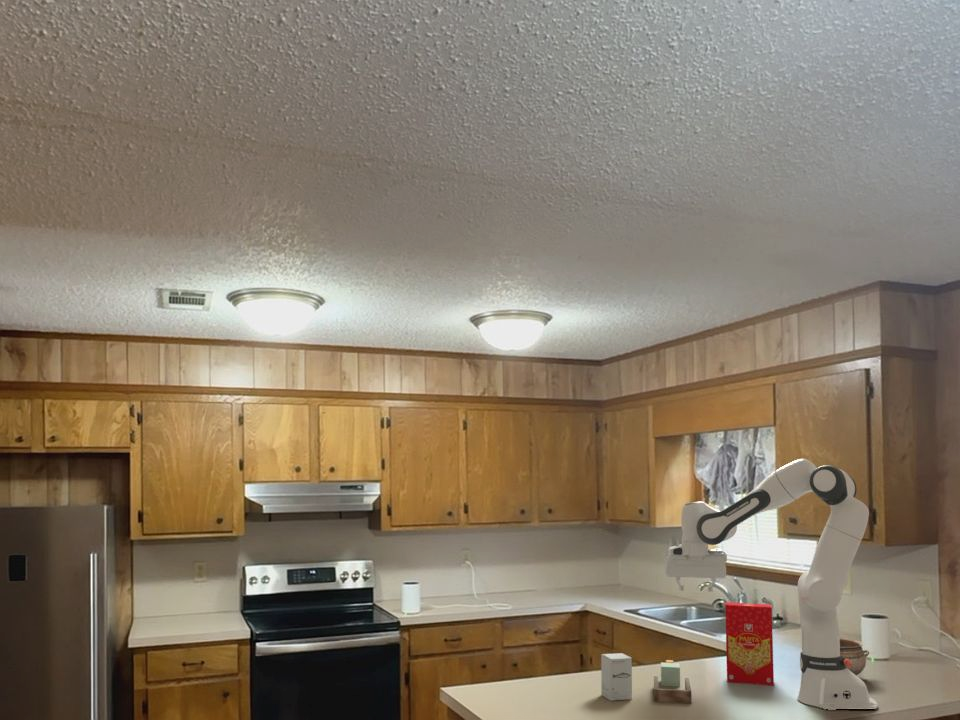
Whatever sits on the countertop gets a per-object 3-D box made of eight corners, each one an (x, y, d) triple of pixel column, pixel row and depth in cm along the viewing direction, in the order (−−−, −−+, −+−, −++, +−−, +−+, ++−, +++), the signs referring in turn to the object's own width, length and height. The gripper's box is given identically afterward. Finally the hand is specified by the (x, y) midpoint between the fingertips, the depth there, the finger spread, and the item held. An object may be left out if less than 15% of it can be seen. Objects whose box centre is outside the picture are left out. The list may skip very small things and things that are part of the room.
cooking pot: (851, 670, 310) (850, 634, 312) (887, 684, 292) (885, 646, 293) (787, 673, 305) (786, 637, 307) (819, 688, 287) (817, 649, 288)
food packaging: (727, 681, 294) (725, 604, 296) (727, 678, 299) (725, 602, 301) (773, 685, 290) (771, 607, 292) (773, 681, 295) (771, 604, 297)
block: (678, 673, 304) (678, 655, 305) (680, 686, 288) (679, 667, 288) (660, 672, 306) (660, 654, 306) (661, 685, 289) (661, 666, 290)
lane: (689, 689, 284) (688, 678, 285) (691, 703, 269) (691, 691, 269) (654, 687, 286) (653, 676, 287) (654, 701, 271) (654, 689, 271)
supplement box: (610, 701, 270) (610, 658, 271) (600, 695, 277) (600, 653, 278) (632, 699, 272) (632, 657, 273) (622, 693, 279) (622, 652, 280)
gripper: (725, 549, 303) (726, 590, 301) (664, 547, 306) (665, 588, 305) (727, 551, 297) (728, 593, 295) (665, 549, 300) (665, 591, 299)
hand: (695, 591), depth 300 cm, fingers open, 8 cm apart
